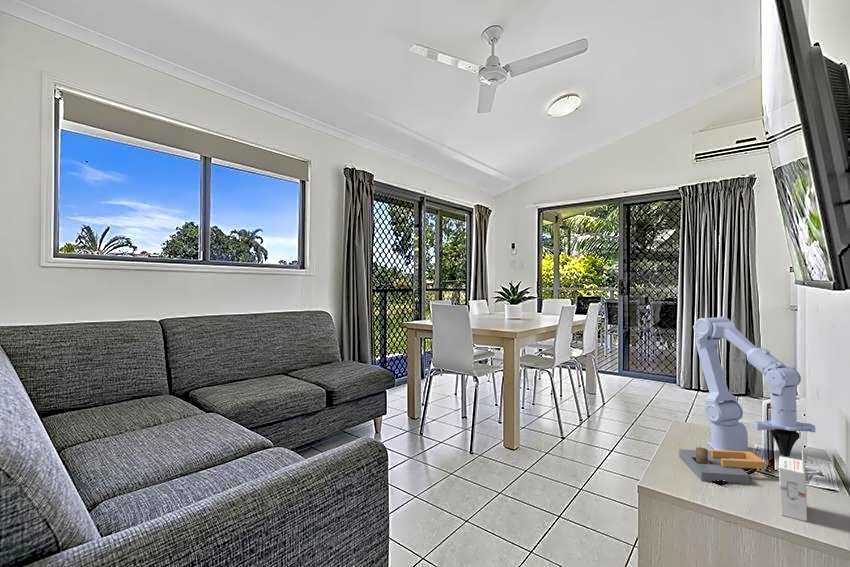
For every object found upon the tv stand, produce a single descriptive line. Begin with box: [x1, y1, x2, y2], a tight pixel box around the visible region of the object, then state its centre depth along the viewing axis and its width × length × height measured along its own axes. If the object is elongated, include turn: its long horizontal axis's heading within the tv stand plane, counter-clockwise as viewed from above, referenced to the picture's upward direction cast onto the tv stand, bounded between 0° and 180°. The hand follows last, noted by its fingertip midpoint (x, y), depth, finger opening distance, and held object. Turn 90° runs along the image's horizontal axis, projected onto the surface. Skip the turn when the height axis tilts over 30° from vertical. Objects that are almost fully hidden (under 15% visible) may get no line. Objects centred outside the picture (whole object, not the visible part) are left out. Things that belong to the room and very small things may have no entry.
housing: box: [678, 449, 750, 485], centre depth 124 cm, size 12×16×2 cm
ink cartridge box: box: [778, 449, 808, 522], centre depth 102 cm, size 9×5×15 cm, turn 139°
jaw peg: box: [695, 446, 709, 464], centre depth 125 cm, size 3×3×6 cm
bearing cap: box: [710, 449, 766, 470], centre depth 123 cm, size 11×7×2 cm, turn 78°
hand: (784, 455), depth 120 cm, fingers closed
